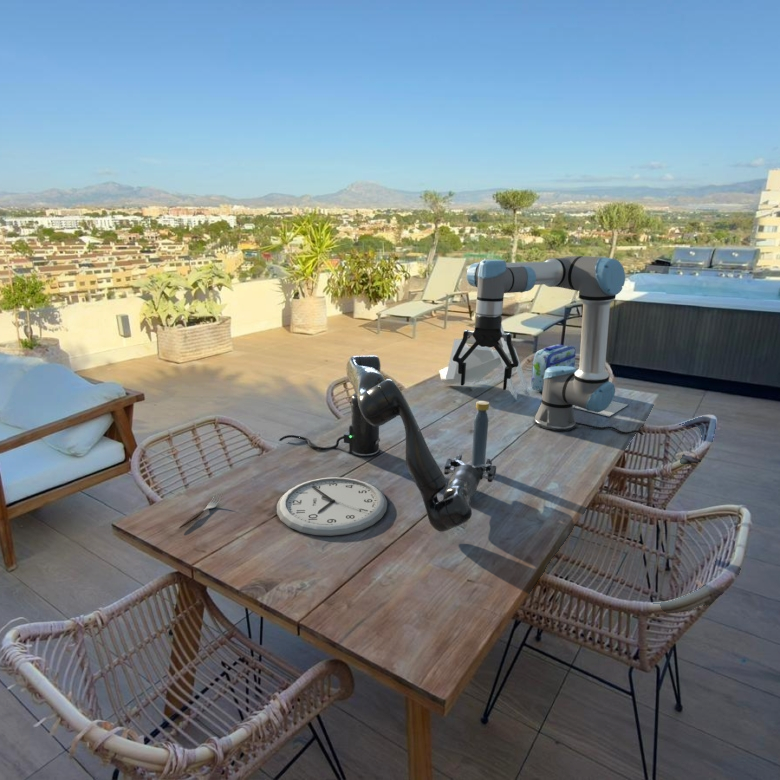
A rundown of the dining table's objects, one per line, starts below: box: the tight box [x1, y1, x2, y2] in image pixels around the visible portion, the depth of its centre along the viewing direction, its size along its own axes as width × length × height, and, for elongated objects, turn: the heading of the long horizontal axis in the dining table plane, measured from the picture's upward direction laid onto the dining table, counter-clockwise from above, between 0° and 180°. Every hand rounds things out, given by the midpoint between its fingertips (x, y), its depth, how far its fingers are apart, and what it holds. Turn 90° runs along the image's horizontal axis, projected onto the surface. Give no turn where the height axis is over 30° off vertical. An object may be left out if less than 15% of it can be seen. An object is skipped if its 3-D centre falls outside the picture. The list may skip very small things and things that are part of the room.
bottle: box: [470, 409, 489, 466], centre depth 162 cm, size 4×4×22 cm
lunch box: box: [530, 344, 577, 392], centre depth 247 cm, size 26×11×21 cm, turn 134°
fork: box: [178, 493, 223, 529], centre depth 137 cm, size 3×16×2 cm, turn 160°
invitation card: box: [573, 400, 629, 418], centre depth 226 cm, size 21×1×15 cm
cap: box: [475, 400, 490, 411], centre depth 159 cm, size 4×4×2 cm
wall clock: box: [276, 476, 388, 537], centre depth 142 cm, size 30×2×30 cm
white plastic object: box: [438, 323, 531, 400], centre depth 245 cm, size 37×45×31 cm
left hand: (474, 459), depth 157 cm, fingers open, 8 cm apart
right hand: (483, 386), depth 157 cm, fingers open, 12 cm apart
